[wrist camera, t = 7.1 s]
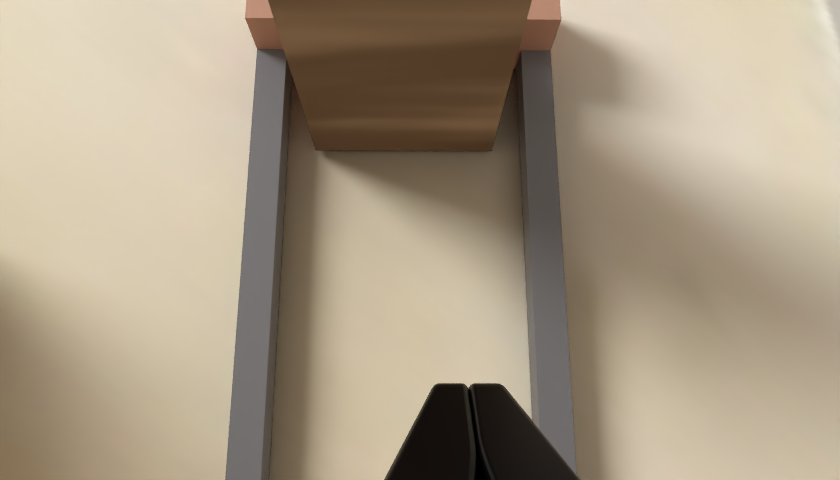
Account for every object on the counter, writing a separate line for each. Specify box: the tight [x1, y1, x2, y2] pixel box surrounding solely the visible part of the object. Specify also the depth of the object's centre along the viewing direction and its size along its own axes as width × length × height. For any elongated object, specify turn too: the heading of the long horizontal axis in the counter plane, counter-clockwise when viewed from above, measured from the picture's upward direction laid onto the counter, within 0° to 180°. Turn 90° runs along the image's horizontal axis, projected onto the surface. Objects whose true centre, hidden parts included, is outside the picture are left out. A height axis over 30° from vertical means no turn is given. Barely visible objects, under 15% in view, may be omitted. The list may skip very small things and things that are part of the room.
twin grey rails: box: [225, 0, 577, 480], centre depth 22 cm, size 18×10×3 cm, turn 0°
